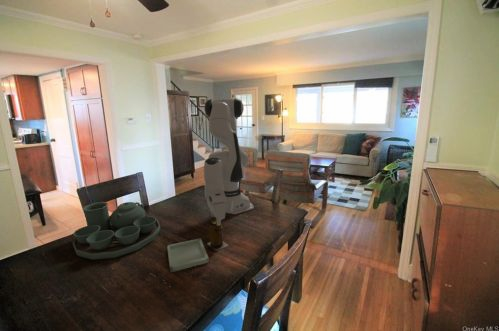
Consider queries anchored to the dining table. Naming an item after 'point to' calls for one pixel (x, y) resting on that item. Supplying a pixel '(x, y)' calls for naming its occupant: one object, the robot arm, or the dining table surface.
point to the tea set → (114, 231)
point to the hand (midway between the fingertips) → (216, 220)
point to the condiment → (216, 236)
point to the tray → (186, 254)
